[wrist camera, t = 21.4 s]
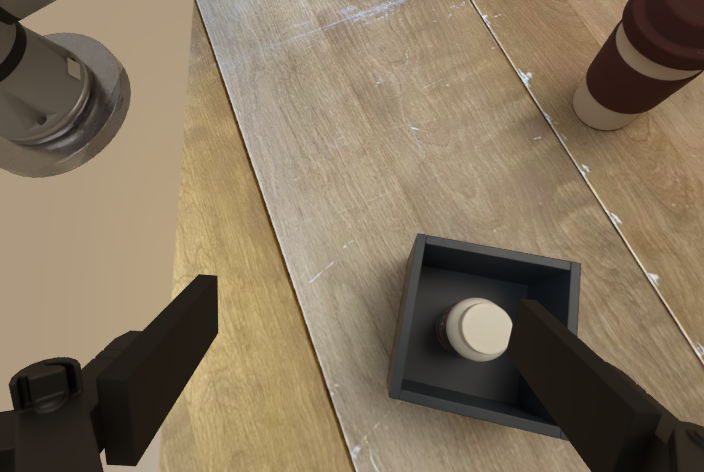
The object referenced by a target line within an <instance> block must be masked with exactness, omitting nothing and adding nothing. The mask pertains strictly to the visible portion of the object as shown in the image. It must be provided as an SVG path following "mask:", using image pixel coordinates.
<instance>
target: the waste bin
mask: <svg viewBox="0 0 704 472" xmlns="http://www.w3.org/2000/svg"><path fill="white" fill-rule="evenodd" d="M580 274H581V263H576V262H570V261H565V260H560V259H555V258H549V257H544V256H538V255H533V254H527V253H522V252H516V251H511V250H505V249H500V248H495V247H489V246H484V245H478V244H473V243H467V242H462V241H456V240H451V239H445V238H440V237H435V236H429V235H427V236H426V235H424V234H417V236H416V239H415V242H414V244H413V247H412V250H411V252H410V255H409V258H408V264H407V269H406V275H405V281H404V286H403V292H402V297H401V303H400V309H399V314H398V320H397V326H396V331H395V337H394V342H393V348H392V354H391V359H390V365H389V370H388V376H387V388H388V394H389V397H390V398H393V399H397V400H402V401H406V402H410V403H414V404H418V405H422V406H426V407H430V408H435V409H439V410H443V411H447V412H451V413H455V414H459V415H464V416H468V417H472V418H476V419H480V420H484V421H488V422H492V423H497V424H501V425H505V426H509V427H513V428H517V429H521V430H525V431H530V432H534V433H538V434H542V435H546V436H550V437H554V438H559V439H563V440H567V441H569V440H568V438H567V437H566V436H565V434H564V433H563V432H562V430H561V429H560V427H559V426H558V425H557V423H556V422H555V420H554V419H553V418H552V416H551V415H550V413H549V412H548V411H547V409H546V408H545V407H544V405H543V404H542V402H541V401H540V400H539V398H538V397H537V395H536V394H535V393H534V391H533V390H532V388H531V387H530V386H529V384H528V383H527V382H526V380H525V379H524V377H523V376H522V375H521V373H520V372H519V370H518V369H517V368H516V366H515V365H514V363H513V362H512V361H511V359H510V358H509V357H508V355H507V354H506V350H507V348H506V350H505V351H504V352H503V353H502V354H501V355H500V356H498V357H497V358H495V359H493V360H490V361H484V362H476V361H472V360H469V359H465V358H462V357H458V356H455V355H453V354H451V353H449V352H448V351H446V350H445V349H444V348H443V347H442V345H441V344H440V342H439V340H438V338H437V334H436V323H437V319H438V317H439V315H440V314H441V313H442V311H443V310H444V309H446V308H447V307H449V306H451V305H453V304H455V303H458V302H460V301H462V300H465V299H468V298H483V299H486V300H489V301H491V302H493V303H494V304H496V305H497V306H498V307H500V308H501V309H503V310H504V311H505V312H506V313H507V314H508V316H509V317H510V319H511V322H512V325H513V321H514V317H515V313H516V309H517V305H518V301H519V299H530V300H537V301H538V302H539V303H540V304H541V305H542V306H543V307H544V308H545V309H547V310H548V311H549V312H550V313H551V314H552V315H553V316H554V317H556V318H557V319H558V320H559V321H560V322H561V323H562V324H563V325H564V326H566V327H567V328H568V329H569V330H570V331H571V332H572V333H573V334H575V335H576V336H577V329H578V311H579V293H580Z"/></svg>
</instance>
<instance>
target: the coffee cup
mask: <svg viewBox="0 0 704 472" xmlns="http://www.w3.org/2000/svg"><path fill="white" fill-rule="evenodd" d="M703 71H704V0H629V1H628V2H627V4H626V6H625V8H624V11H623V15H622V20H621V21H620V22H619V23H618V24H617V26H616V27H615V29H614V30H613V32H612V33H611V35H610V36H609V38H608V39H607V41H606V42H605V44H604V45H603V47H602V48H601V50H600V51H599V53H598V54H597V56H596V57H595V59H594V60H593V62H592V63H591V65H590V67H589V69H588V71H587V74H586V76H585V77H584V79H583V80H582V82H581V83H580V84H579V86H578V87H577V89H576V91H575V93H574V95H573V108H574V111H575V113H576V115H577V116H578V117H579V119H580V120H581V121H583V122H584V123H585V124H587V125H588V126H590V127H593V128H595V129H599V130H615V129H619V128H621V127H623V126H625V125H627V124H628V123H630V122H631V121H633V120H634V119H635V118H637V117H638V116H639V115H641V114H642V113H644V112H646V111H648V110H650V109H652V108H654V107H655V106H657V105H658V104H659V103H661V102H662V101H664V100H665V99H666V98H668V97H669V96H671V95H672V94H673V93H675V92H676V91H678V90H679V89H680V88H682V87H683V86H685V85H686V84H687V83H689V82H690V81H691V80H693V79H694V78H696V77H697V76H698V75H700V74H701V73H702V72H703Z"/></svg>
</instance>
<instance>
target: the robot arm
mask: <svg viewBox="0 0 704 472" xmlns="http://www.w3.org/2000/svg"><path fill="white" fill-rule="evenodd" d="M54 1H56V0H0V136H1V137H3V138H5V139H7V140H9V141H11V142H14V143H17V144H24V145H32V144H40V143H44V142H47V141H50V140H52V139H55V138H57V137H59V136H61V135H62V134H64V133H65V132H67V131H68V130H70V129H71V128H72V127H73V126H74V125H75V124H76V123H77V122H78V121H79V120H80V119H81V118H82V116H83V115H84V114H85V112H86V111H87V109H88V107H89V105H90V103H91V100H92V97H93V92H94V81H93V76H92V73H91V71H90V69H89V68H88V66H87V65H86V64H85V63H84V62H83V61H82V60H81V59H80V58H78V57H77V56H76V55H75V54H74V53H73V52H71V51H70V50H68V49H66V48H64V47H63V46H61V45H59V44H57V43H55V42H53V41H51V40H49V39H47V38H45V37H43V36H41V35H39V34H37V33H35V32H33V31H31V30H29V29H27V28H26V27H24V26H22V25H21V24H20V23H19V22H18V21H20V20H21V19H23V18H25V17H27V16H29V15H31V14H32V13H34V12H36V11H38V10H39V9H41V8H43V7H45V6H47V5H49V4H50V3H52V2H54ZM217 334H218V286H217V276H214V275H201V274H199V275H198V276H197V277H196V278H195V279H194V280H193V281H192V282H191V283H190V284H189V285H188V286H187V287H186V288H185V289H184V290H183V291H182V292H181V293H180V294H179V295H178V296H177V297H176V298H175V299H174V300H173V301H172V302H171V303H170V304H169V305H168V306H167V307H166V308H165V309H164V310H163V311H162V312H161V313H160V314H159V315H158V316H157V317H156V318H155V319H154V320H153V321H152V322H151V323H150V324H149V325H148V326H147V327H146V328H145V329H144V330H143V331H129V332H127V333H125V334H123V335H121V336H119V337H117V338H115V339H114V340H113V341H112V342H111V343H110V344H109V345H108V346H106V347H105V348H104V350H103V351H101V352H100V353H99V354H98V355H97V356H96V357H95V359H92V360H91V361H90V362H89V363H88V364H87V365H86V366H85V367H84V368H82V369H81V367H80V363H79V362H78V361H77V360H76V359H72V358H68V357H67V358H65V357H61V358H60V357H57V358H52V359H47V360H43V361H40V362H37V363H34V364H31V365H29V366H27V367H26V368H24V369H22V370H20V371H19V372H18V373H17V374H15V375H14V376H13V377H12V378H11V381H10V383H9V388H10V393H11V398H12V402H13V407H14V410H11V411H5V412H0V472H103V468H102V463H101V460H100V453H101V452H102V450H103V449H104V448H105V455H106V462H107V465H122V466H123V465H124V466H136V465H137V463H138V462H139V460H140V459H141V457H142V456H143V454H144V452H145V451H146V449H147V447H148V446H149V444H150V443H151V441H152V439H153V438H154V436H155V434H156V433H157V431H158V430H159V428H160V426H161V425H162V423H163V422H164V420H165V418H166V417H167V415H168V413H169V412H170V410H171V409H172V407H173V405H174V404H175V402H176V400H177V399H178V397H179V396H180V394H181V392H182V391H183V389H184V387H185V386H186V384H187V383H188V381H189V379H190V378H191V376H192V375H193V373H194V371H195V370H196V368H197V366H198V365H199V363H200V362H201V360H202V358H203V357H204V355H205V353H206V352H207V350H208V349H209V347H210V345H211V344H212V342H213V340H214V339H215V337H216V336H217ZM506 354H507V355H508V357H509V358H510V359H511V361H512V362H513V363H514V365H515V366H516V368H517V369H518V370H519V372H520V373H521V375H522V376H523V377H524V379H525V380H526V382H527V383H528V384H529V386H530V387H531V388H532V390H533V391H534V393H535V394H536V395H537V397H538V398H539V400H540V401H541V402H542V404H543V405H544V407H545V408H546V409H547V411H548V412H549V413H550V415H551V416H552V418H553V419H554V420H555V422H556V423H557V425H558V426H559V427H560V429H561V430H562V432H563V433H564V434H565V436H566V437H567V438H568V440H569V441H570V443H571V444H572V445H573V447H574V448H575V450H576V451H577V452H578V454H579V455H580V457H581V458H582V459H583V461H584V462H585V463H586V465H587V466H588V468H589V469H590V470H591V472H704V427H703V426H700V425H697V424H694V423H690V422H683V421H682V422H681V421H679V420H678V419H677V418H676V417H675V416H674V415H672V414H671V413H670V412H669V411H668V410H667V409H666V408H664V407H663V406H662V405H661V404H660V403H659V402H658V401H656V400H655V399H654V398H653V397H652V396H651V395H650V394H648V393H646V391H645V390H644V389H643V388H641V387H640V386H639V385H637V384H636V382H635V381H633V380H632V379H631V378H630V377H629V376H628V375H627V374H625V373H624V372H623V371H621V370H620V369H618V368H616V367H615V366H613V365H611V364H610V363H608V362H605V361H604V360H602V359H601V358H600V357H599V356H598V355H597V354H596V353H595V352H594V351H592V350H591V349H590V348H589V347H588V346H587V345H586V344H585V343H583V342H582V341H581V340H580V339H579V338H578V337H577V336H576V335H575V334H573V333H572V332H571V331H570V330H569V329H568V328H567V327H566V326H564V325H563V324H562V323H561V322H560V321H559V320H558V319H557V318H556V317H554V316H553V315H552V314H551V313H550V312H549V311H548V310H547V309H545V308H544V307H543V306H542V305H541V304H540V303H539V302H538V301H537V300H530V299H519V301H518V305H517V309H516V313H515V317H514V321H513V325H512V329H511V333H510V338H509V342H508V346H507V350H506Z"/></svg>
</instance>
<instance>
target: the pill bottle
mask: <svg viewBox="0 0 704 472" xmlns="http://www.w3.org/2000/svg"><path fill="white" fill-rule="evenodd" d="M511 329H512V322H511V319H510V317H509V316H508V314H507V313H506V312H505V311H504V310H503V309H501V308H500V307H498V306H497V305H496V304H494V303H493V302H491V301H489V300H486V299H483V298H468V299H465V300H462V301H460V302H458V303H455V304H453V305H451V306H449V307H447V308H446V309H444V310H443V311H442V313H441V314H440V315H439V317H438V319H437V323H436V334H437V338H438V340H439V342H440V344H441V345H442V347H443V348H444V349H445V350H446V351H448V352H449V353H451V354H453V355H455V356H458V357H462V358H465V359H469V360H472V361H476V362H484V361H490V360H493V359H495V358H497V357H498V356H500V355H501V354H502V353H503V352H504V351H505V350H506V348H507V346H508V342H509V338H510V333H511Z"/></svg>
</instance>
